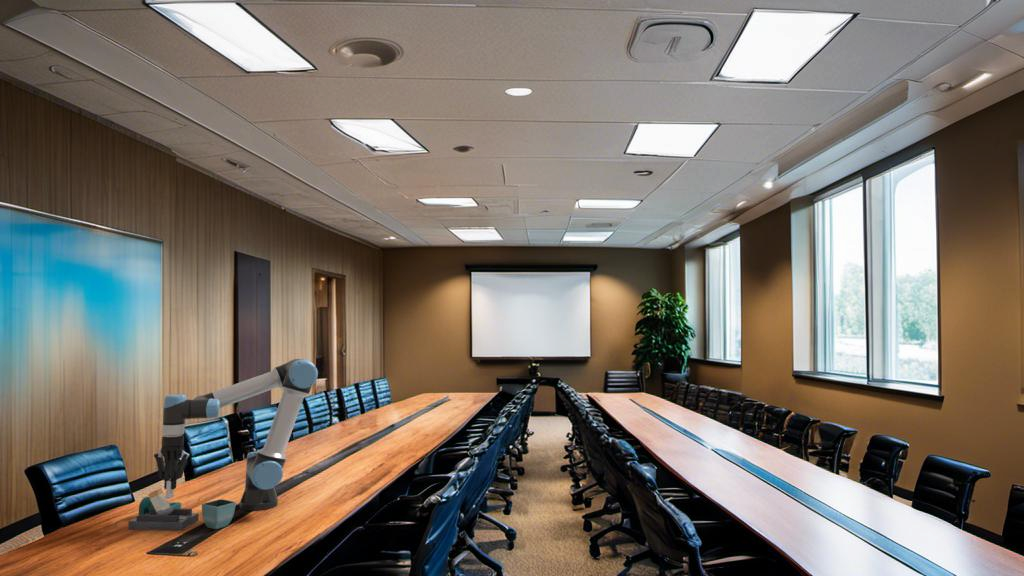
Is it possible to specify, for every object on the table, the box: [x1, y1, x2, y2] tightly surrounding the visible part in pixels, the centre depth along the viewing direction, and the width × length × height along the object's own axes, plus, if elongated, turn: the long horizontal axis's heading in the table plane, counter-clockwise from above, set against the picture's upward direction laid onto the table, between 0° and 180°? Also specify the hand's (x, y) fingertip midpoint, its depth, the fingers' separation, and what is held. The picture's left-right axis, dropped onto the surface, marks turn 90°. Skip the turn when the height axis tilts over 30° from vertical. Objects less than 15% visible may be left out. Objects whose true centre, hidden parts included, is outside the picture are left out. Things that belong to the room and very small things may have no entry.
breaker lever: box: [147, 487, 173, 515], centre depth 231 cm, size 3×6×10 cm, turn 2°
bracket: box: [138, 496, 182, 515], centre depth 247 cm, size 18×7×8 cm, turn 172°
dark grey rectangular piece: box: [136, 508, 193, 522], centre depth 231 cm, size 15×11×2 cm
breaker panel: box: [127, 512, 200, 531], centre depth 231 cm, size 20×12×3 cm, turn 90°
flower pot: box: [201, 498, 237, 530], centre depth 230 cm, size 9×9×9 cm
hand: (169, 497), depth 232 cm, fingers closed
